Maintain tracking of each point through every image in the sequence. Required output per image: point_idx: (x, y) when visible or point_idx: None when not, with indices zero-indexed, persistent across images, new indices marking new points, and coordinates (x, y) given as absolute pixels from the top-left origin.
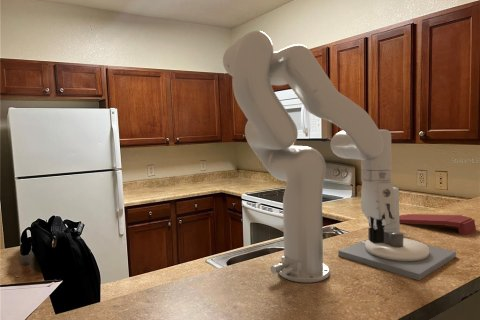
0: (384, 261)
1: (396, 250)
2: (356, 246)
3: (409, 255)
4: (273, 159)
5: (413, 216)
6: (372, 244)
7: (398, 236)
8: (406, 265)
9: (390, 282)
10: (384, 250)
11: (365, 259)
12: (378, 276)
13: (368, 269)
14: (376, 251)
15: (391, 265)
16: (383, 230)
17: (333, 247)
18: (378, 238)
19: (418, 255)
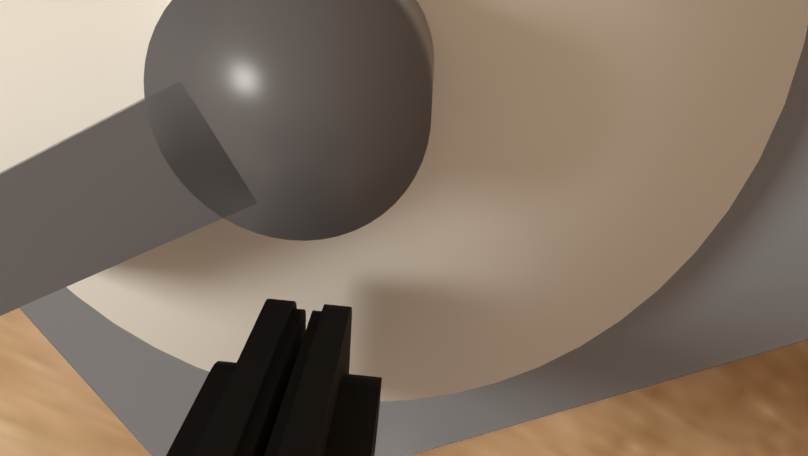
0: (575, 360)
1: (514, 198)
2: (115, 350)
3: (741, 176)
4: None
5: None
6: (229, 315)
7: (423, 153)
8: (763, 248)
9: (805, 444)
10: (461, 321)
11: (442, 438)
12: (681, 452)
13: (543, 441)
14: (440, 390)
15: (681, 363)
16: (320, 445)
17: (13, 420)
18: (375, 441)
19: (796, 44)
